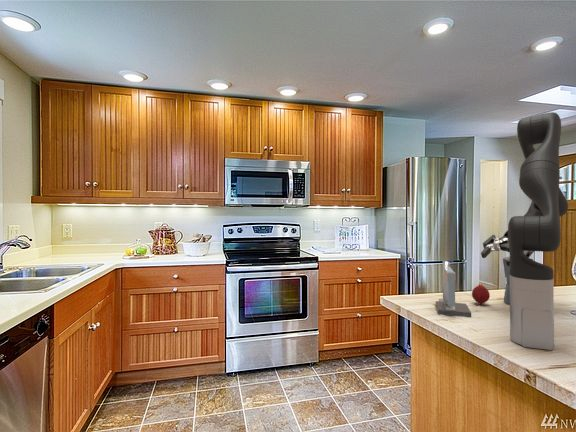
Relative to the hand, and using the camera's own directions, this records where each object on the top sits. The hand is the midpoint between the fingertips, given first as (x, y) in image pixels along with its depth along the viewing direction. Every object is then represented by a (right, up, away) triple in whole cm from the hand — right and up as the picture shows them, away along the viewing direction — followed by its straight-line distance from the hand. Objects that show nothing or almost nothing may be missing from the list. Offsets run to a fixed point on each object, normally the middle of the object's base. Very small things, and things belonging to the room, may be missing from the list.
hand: (494, 260), depth 110 cm
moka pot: (+17, -19, +13) cm, 29 cm away
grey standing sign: (-13, -15, +5) cm, 21 cm away
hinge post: (-10, -19, +14) cm, 25 cm away
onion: (+3, -19, +12) cm, 23 cm away
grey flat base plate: (-12, -19, +4) cm, 23 cm away
